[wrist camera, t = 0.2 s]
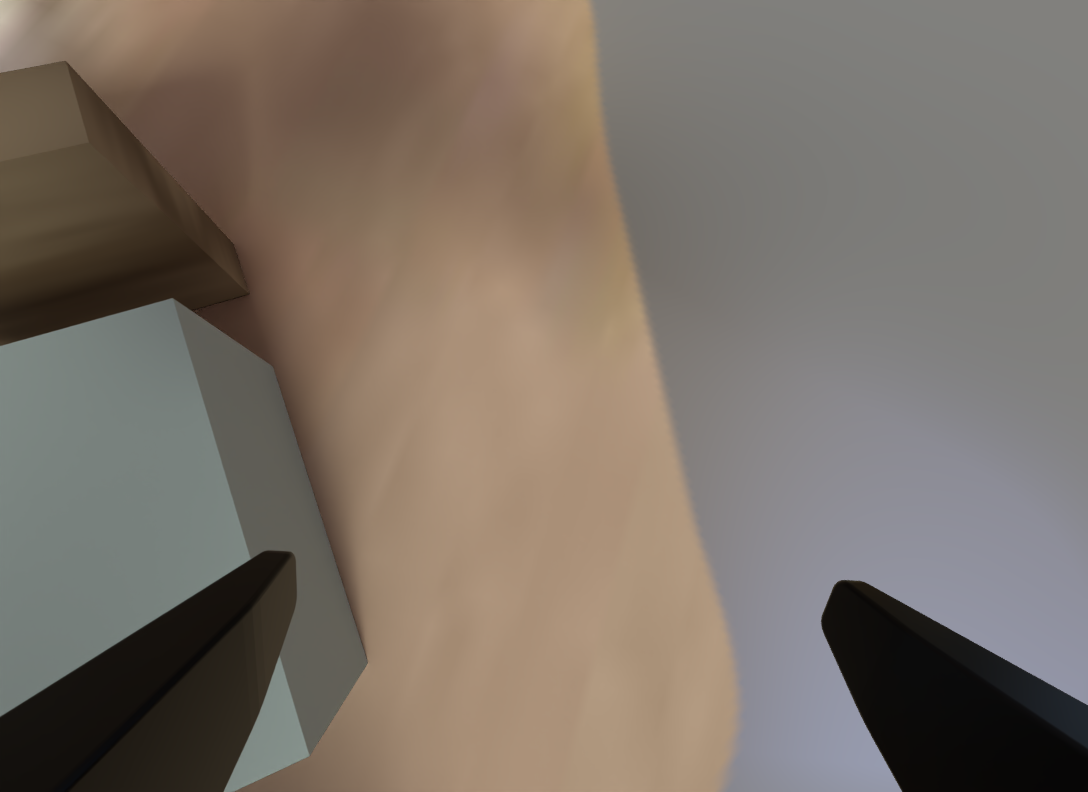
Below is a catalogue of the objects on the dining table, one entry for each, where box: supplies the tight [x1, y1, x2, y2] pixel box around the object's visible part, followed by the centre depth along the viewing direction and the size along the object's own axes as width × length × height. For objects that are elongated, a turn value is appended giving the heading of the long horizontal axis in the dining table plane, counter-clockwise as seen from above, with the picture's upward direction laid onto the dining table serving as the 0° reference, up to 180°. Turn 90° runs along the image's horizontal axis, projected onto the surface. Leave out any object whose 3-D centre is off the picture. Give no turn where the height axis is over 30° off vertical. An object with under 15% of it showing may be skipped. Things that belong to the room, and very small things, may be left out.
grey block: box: [0, 298, 368, 792], centre depth 17 cm, size 13×9×8 cm
